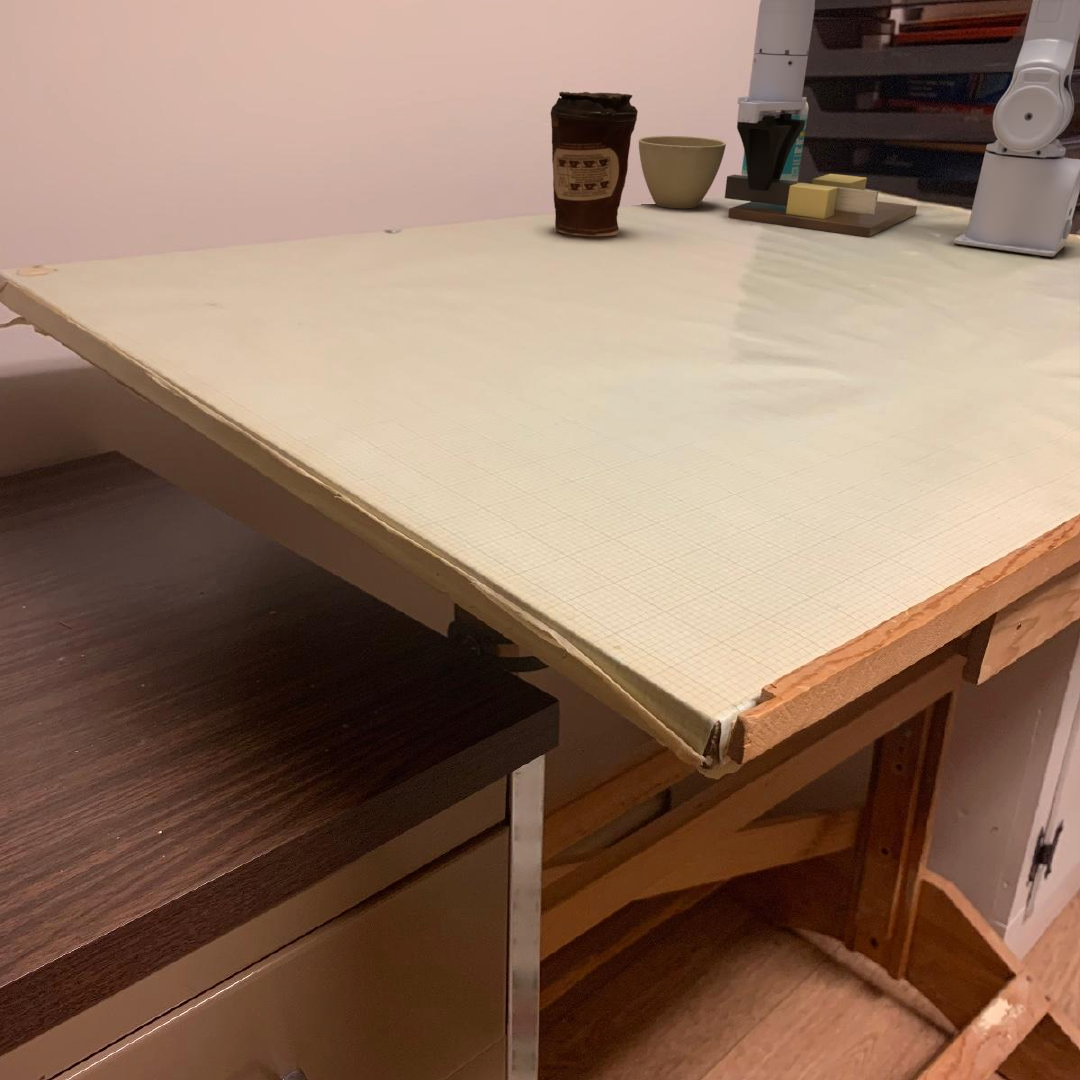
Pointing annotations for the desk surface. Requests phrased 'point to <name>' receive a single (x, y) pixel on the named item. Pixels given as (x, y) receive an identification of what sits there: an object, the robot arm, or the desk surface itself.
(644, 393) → the desk surface
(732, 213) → the butter board
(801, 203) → the butter slice
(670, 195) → the tan bowl
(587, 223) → the coffee cup
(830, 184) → the butter block
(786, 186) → the knife
